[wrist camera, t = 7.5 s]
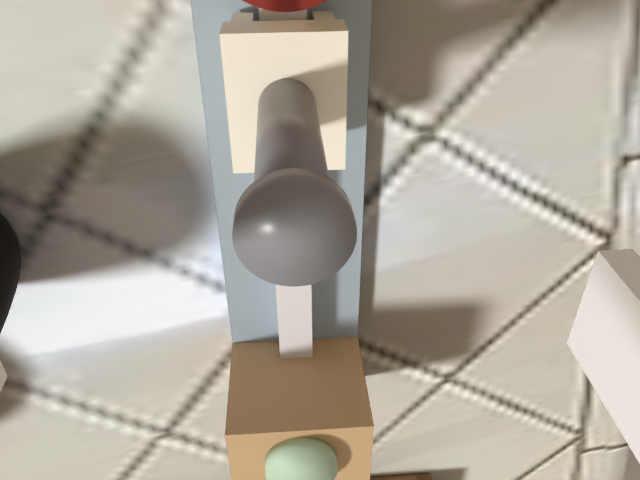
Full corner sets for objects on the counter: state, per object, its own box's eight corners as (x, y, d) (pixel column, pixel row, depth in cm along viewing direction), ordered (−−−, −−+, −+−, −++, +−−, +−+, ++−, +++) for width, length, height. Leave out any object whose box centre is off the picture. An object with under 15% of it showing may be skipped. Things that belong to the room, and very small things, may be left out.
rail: (171, -186, 22) (121, -209, 15) (376, -187, 22) (427, -209, 15) (239, 385, 40) (232, 503, 32) (353, 378, 40) (371, 493, 33)
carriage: (225, 12, 25) (187, 137, 14) (339, 10, 25) (393, 131, 14) (237, 140, 28) (214, 324, 17) (337, 137, 28) (380, 316, 17)
